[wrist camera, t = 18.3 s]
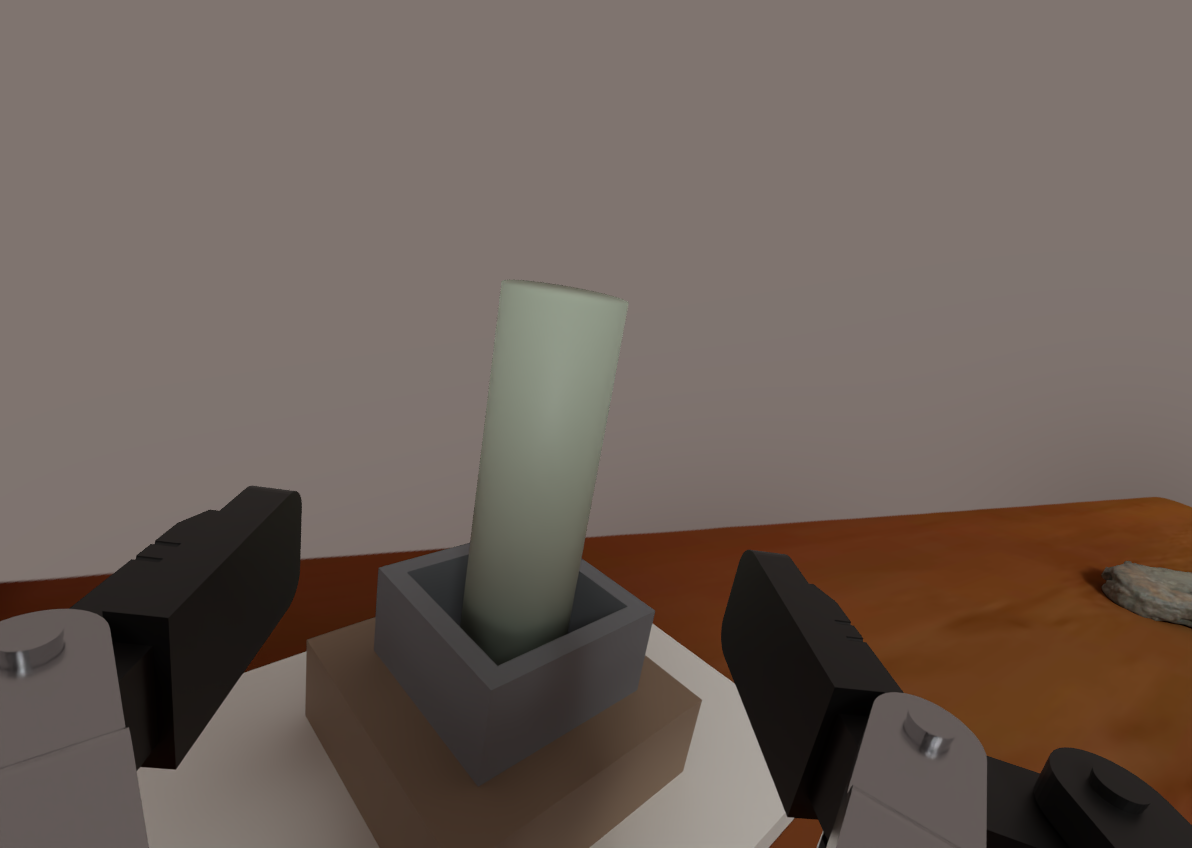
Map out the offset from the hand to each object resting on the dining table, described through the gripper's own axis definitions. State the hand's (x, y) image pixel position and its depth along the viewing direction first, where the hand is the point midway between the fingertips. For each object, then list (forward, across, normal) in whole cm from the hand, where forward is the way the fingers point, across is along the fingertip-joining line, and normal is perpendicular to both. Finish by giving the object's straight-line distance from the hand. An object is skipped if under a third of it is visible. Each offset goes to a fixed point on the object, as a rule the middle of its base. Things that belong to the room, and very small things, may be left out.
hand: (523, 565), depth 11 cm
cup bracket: (+11, 0, +18) cm, 21 cm away
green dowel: (+11, 0, +12) cm, 17 cm away
